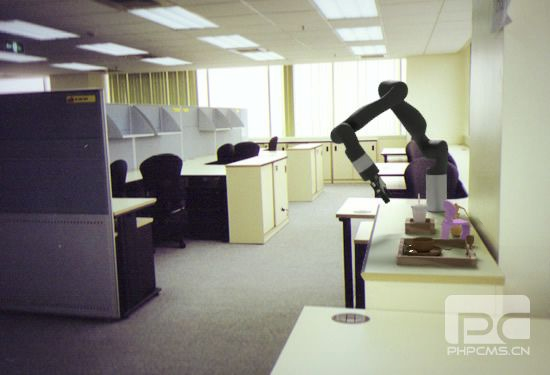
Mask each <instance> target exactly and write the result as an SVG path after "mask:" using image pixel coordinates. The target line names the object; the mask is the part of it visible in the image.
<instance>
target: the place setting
mask: <svg viewBox="0 0 550 375" xmlns="http://www.w3.org/2000/svg"><path fill="white" fill-rule="evenodd" d="M412 238H413V239H412V245H411V246H404V252H405V254H406V255H407V256H430V257H438V256H439V255H441V253H443V250H445V251H447V250H452V249H453V247H450V248H449V247H448V248H445V247H442V246H436V245H434V239H433V238H434V237H433V238H432V237H430V236H429V237H427V236H420V237H419V236H418V237H417V236H416V237H412ZM466 243H467V244H468V245H469V247H472V246H473V245H474V244H475V235H471V234H470V235H467V236H466ZM472 248H473V247H472ZM410 250H413V251H412V252H409V251H410ZM465 254H466V255H467V256H468V252H467V251H466V253H465ZM474 255H476V253H475V252H474Z"/></svg>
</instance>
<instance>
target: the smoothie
mask: <svg viewBox="0 0 550 375" xmlns="http://www.w3.org/2000/svg"><path fill="white" fill-rule="evenodd" d="M420 198H421V197H420V193H417V199H418V201H417V202H418V203H412V204H410V208H411V211H412V218H413V221H414V222H419V223H425V220H426V218H427V208H428V205H426V203H421V199H420Z"/></svg>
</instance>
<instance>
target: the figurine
mask: <svg viewBox="0 0 550 375" xmlns="http://www.w3.org/2000/svg"><path fill="white" fill-rule="evenodd" d="M453 204H454V205H455V206H456V215H455V216H453V219H461V213H460V212H459V210H460V209H461V210H463V211H464V212H465V214H466V216H467V217H469V214H468V212H467V209H466V208H464V207H462V206H461V205H458V203H457V202H456V203H453ZM444 217H446V214H445V213H444ZM450 233H451V235H453V236H454V237H459V236H461V234H462V226H461V225H457V226H453V227H452V228H451V230H450Z"/></svg>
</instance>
